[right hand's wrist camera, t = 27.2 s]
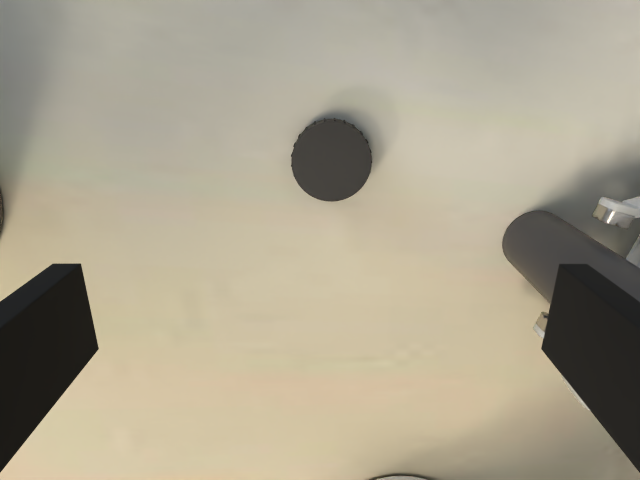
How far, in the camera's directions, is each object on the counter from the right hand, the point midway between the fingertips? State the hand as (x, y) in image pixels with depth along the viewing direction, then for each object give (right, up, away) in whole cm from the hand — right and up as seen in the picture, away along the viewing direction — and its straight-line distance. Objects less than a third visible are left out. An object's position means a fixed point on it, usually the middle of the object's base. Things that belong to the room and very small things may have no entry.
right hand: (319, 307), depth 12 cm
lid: (+1, +8, +21) cm, 23 cm away
